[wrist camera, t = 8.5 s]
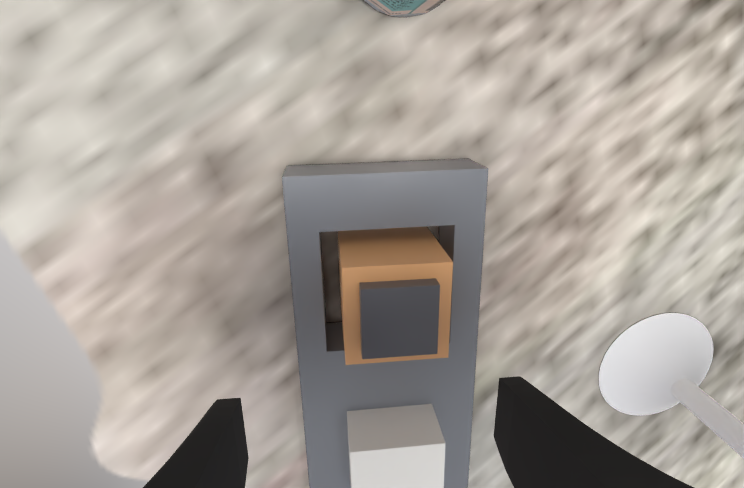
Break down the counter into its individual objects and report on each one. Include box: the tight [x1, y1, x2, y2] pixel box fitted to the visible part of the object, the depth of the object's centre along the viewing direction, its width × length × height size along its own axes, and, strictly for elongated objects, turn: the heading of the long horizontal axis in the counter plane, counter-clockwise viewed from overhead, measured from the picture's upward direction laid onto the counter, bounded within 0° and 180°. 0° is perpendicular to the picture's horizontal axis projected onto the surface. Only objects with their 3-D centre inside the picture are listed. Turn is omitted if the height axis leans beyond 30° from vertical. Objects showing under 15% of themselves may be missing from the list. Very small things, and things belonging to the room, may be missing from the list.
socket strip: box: [282, 159, 488, 488], centre depth 21 cm, size 20×8×5 cm, turn 1°
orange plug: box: [338, 226, 453, 365], centre depth 19 cm, size 4×4×6 cm
